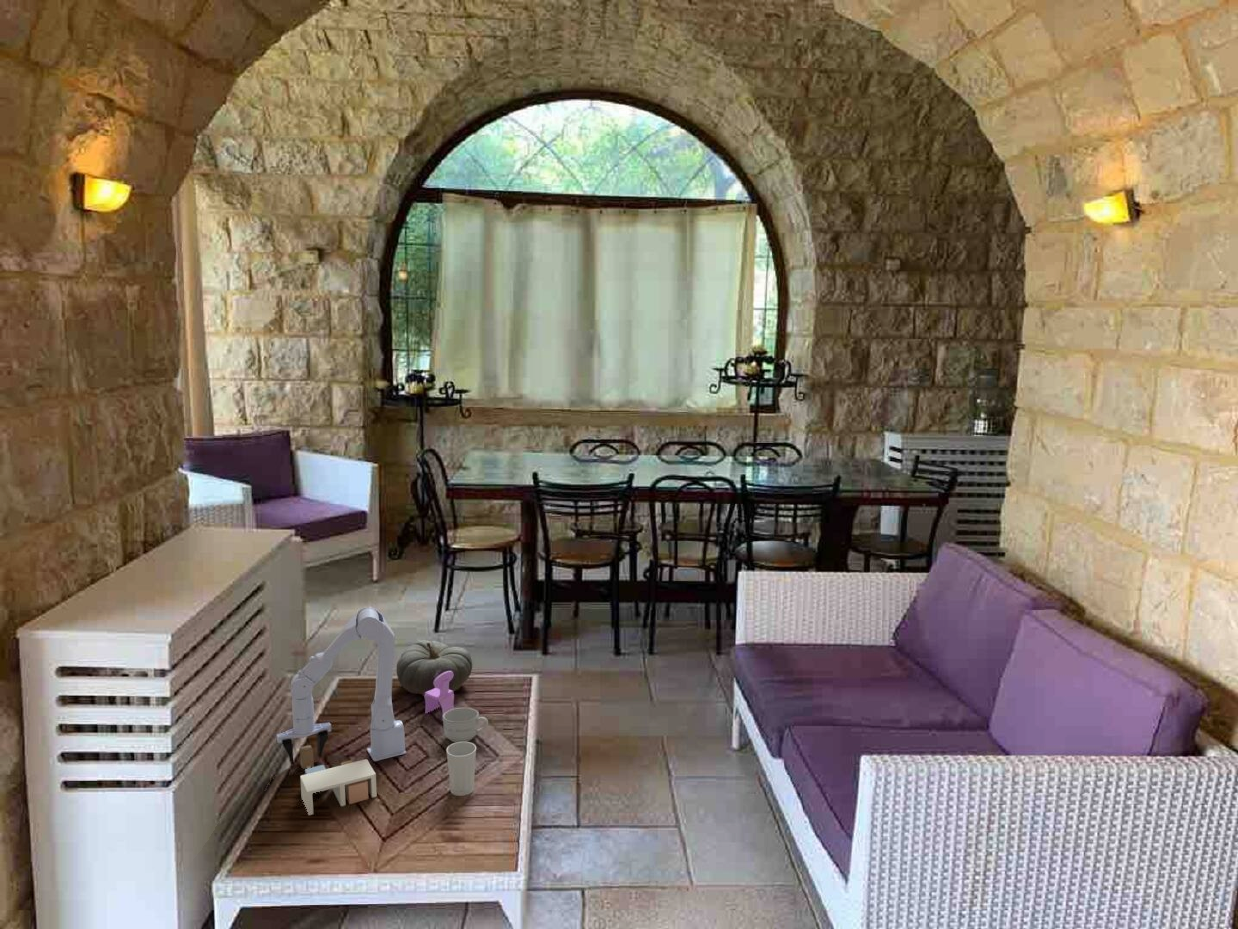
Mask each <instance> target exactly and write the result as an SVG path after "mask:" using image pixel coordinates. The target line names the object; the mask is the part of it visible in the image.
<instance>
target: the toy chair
mask: <svg viewBox="0 0 1238 929" xmlns="http://www.w3.org/2000/svg"><path fill="white" fill-rule="evenodd" d="M453 676H454V674H453V672H452V671H446V672H444V673H442V674H440V675H439V676H438V677H437V678H436V679H435V680H434V682H433V684H434V686H435V688H434V689H432V690H430V691H427V692H425V696H423V697H424V701H425V710H424V711H425V712H424V713H425V715H426V713H427V714H428V712H429V713H430V711H431V712H432V711H434V709H435V710H437V709H438V707H439V706H440V707H441V710H442V711H441V712H442V714H441V715H442V716H441V721H443V714H444V713H445V712H447V711H449V710H451V709H455V705H454V702H455V701H454V699H455V694H454V691H452V690H449V682H450V681H451V680H452V678H453ZM440 707H439V708H440ZM436 708H437V709H436Z"/></svg>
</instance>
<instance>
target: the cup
mask: <svg viewBox="0 0 1238 929" xmlns="http://www.w3.org/2000/svg"><path fill="white" fill-rule="evenodd" d="M445 751H446V758H447V766H448V767H447V768H448V777H449V778H448V779H449V785H450V791H449V792H450V793H451V795H453V796H456V797H457V796H459V797H463V796H467V795H470V794H472V792H474V790H475V772H476V771H475V770H476V759H477V758H476V757H477V746H476V744H475V743H473V742H470V741H468V742H457V743H456V742H453V743H451V744H449V745H448V746H447V747H446V749H445Z"/></svg>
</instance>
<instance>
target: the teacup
mask: <svg viewBox="0 0 1238 929" xmlns="http://www.w3.org/2000/svg"><path fill="white" fill-rule="evenodd" d="M454 708H455V707H454ZM479 714H480V713H479V711H478V710H476V709H475V708H472V707H471V708H470V707H456V708H455V709H451V710H449V711H447V712H445V713H444V714H443V713H442V715H443V722H442V724H443V725H442V726H443V733H444V736H445V737H446V738H447V739H448V740H450V741H451V742H453V743H457V742H470V741H471V740H472V739H473V738H475V737H476V736H478V735H479V734H480V733H482V732H484V731H485V730H486V729H487V728H488V727H489V720H488V719H487V718H486V717H485V716H479ZM480 721H482V722H484V726H483V727H481V728H479V724H480Z"/></svg>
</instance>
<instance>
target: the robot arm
mask: <svg viewBox="0 0 1238 929" xmlns="http://www.w3.org/2000/svg"><path fill="white" fill-rule="evenodd" d="M362 638H365V639H366V640H370V641H372V642H374V643H375V644H376V645H377V656H376V657H377V659H376V660H377V661H376V678H375V692H374V698H373V701H372V703H371V705H370V712H371V722H370V723H369V733H370V747H367V748H366V751H367V752H368V754H369V756H370V758H371V759H372V761H373V762H378V761H382V760H385V759H389V758H393V757H399V756H401V755H405V754H407V751H406V740H405V739H406V738H405V737H406V736H405V727H404V724H403V722H402V720H399V719H398V720H396V719H395V715H394V711H393V710H394V709H393V702H392V691H393V677H394V676H393V674H394V658H395V642H396V641H395V640H396V638H395V632H394V631H393V630H392V629H391V627H390V625H389V624H388V621H387V620H386V619H385V617H384V614H383V613H382V612H380V611H379V610H377V609H376V608H374V607H373V606H365V607H363V608H360V610H359V611H358V612H357V614H355V615H353V616H352V617H351V618H350V620H349V621H348V622H347V623H346V625H345V626H344V627H343V628H342V629H341V631H339V633H338V634H337V635H336V636H335V638H334V639H333V641H331V643H330V644H329V645H328V646H327V648H326V649H325V650H324V651H322V652H318V653H316V654H315V655H314V656H313V655H311V656H310V657H309V658H308V662H307V663H306V665H305V666H304V667H302V669H298V671H297V673H296V674H294V675H293V677H292V679H291V681H290V694H291V710H292V711H291V712H292V713H291V714H292V726H293V728H291V729H288V730H286V731H284V732H280V733H277V734H276V742H277V743H278V744H282V746H283V748H284V749H285V751H286V753H287V755H288V760H289V763H290V765H294V764H295V763H294V762H295V760H294V745H293V741H292V740H294V739H299V738H306V737H309V736H312V735H315V734H316V740H317V741H316V742H317V743H316V744H317V746H316V748H317V756H318V758H319V759H320V758H322V757H323V751H324V748H325V745H326V743H327V740H328V738H329V733H330V732H332V724H331V723H330V722H323V723H315V708H314V706H315V705H314V698H313V691H314V686H315V685H317V684H318V683H319V681H321V680H322V678H323V677H324V676H325V675H326V674H328V672H329V671H330V669H331V668H332V667H333V660H334V659H335V658H336V657H337V656H338V655H339V654H340V652H342V650H344V649H345V647H347V645H349V643H350V642H353V641H361V640H362Z"/></svg>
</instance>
